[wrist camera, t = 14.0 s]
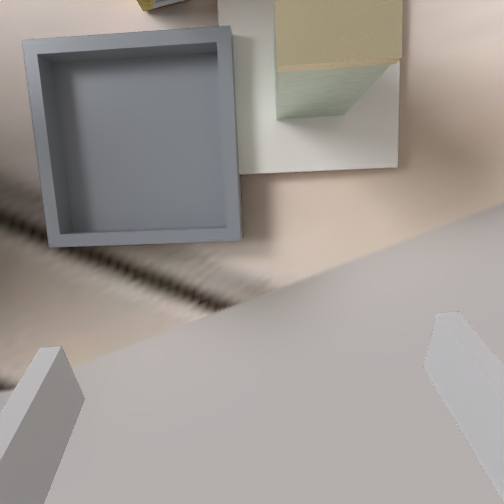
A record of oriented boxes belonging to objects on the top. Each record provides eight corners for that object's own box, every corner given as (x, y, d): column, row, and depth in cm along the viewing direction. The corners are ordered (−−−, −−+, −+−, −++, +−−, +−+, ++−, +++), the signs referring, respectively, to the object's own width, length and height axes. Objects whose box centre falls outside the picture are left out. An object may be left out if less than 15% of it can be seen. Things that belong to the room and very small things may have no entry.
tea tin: (274, 121, 28) (276, 66, 16) (272, 46, 27) (271, -72, 15) (345, 116, 27) (402, 57, 15) (344, 41, 26) (403, -84, 14)
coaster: (227, 175, 29) (226, 174, 28) (218, -3, 27) (216, -10, 26) (393, 167, 29) (397, 166, 28) (396, -16, 27) (401, -24, 26)
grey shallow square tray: (66, 243, 31) (49, 247, 29) (43, 53, 29) (21, 40, 26) (243, 236, 30) (240, 240, 28) (234, 40, 28) (230, 25, 25)
